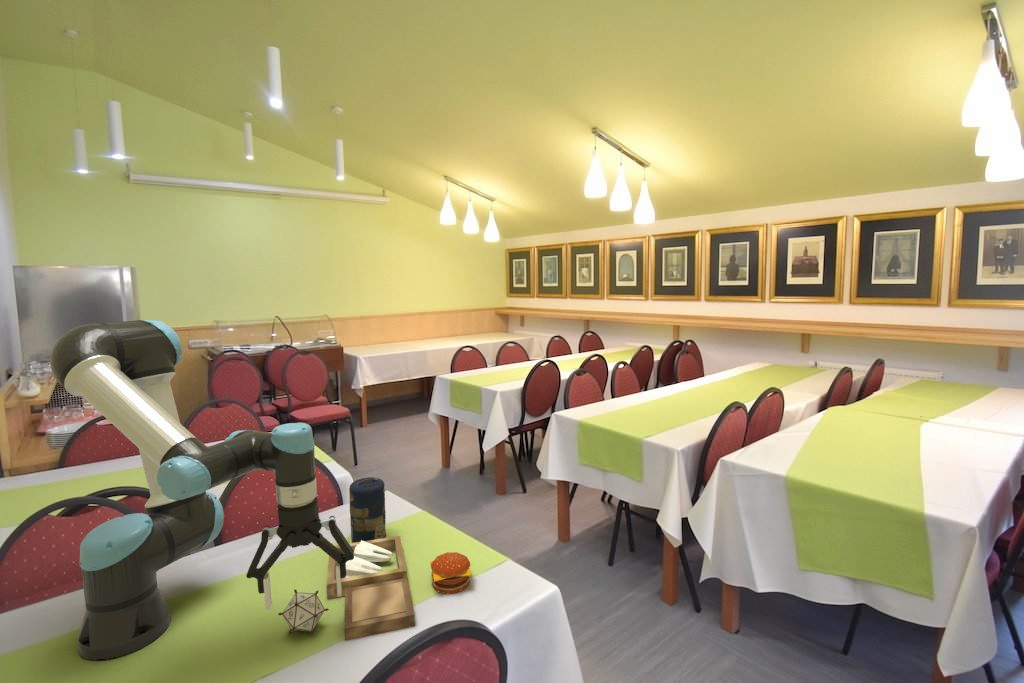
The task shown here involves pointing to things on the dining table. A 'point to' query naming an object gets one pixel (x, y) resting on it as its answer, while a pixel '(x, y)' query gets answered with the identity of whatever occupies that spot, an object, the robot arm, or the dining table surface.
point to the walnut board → (378, 608)
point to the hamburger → (450, 572)
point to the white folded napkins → (366, 559)
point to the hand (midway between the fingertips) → (304, 599)
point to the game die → (303, 612)
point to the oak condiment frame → (386, 543)
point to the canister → (367, 509)
